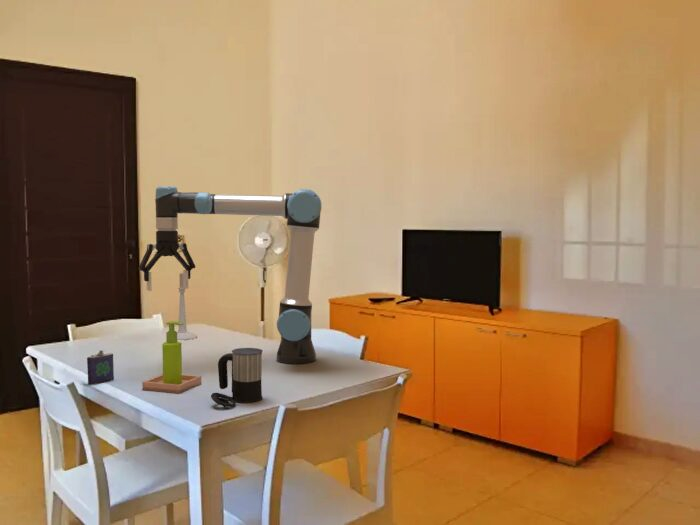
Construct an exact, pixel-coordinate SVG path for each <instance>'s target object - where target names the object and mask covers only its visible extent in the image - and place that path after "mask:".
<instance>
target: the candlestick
mask: <svg viewBox="0 0 700 525" xmlns="http://www.w3.org/2000/svg"><path fill="white" fill-rule="evenodd" d="M178 276H179V287H178V288H177V289H178V292H179V304H178V305H179V307H178V308H179V310H178V311H179V312H178V322H182V323H184V324H183V325H178V331H176V332H177V340H184V341H191V340H190V339H192V340H195V339H194V338H196V339H198V334H195V333H193V332H190V331H188V330H187V319H186V316H187V315H186V303H185V300H186V299H185V292H186V288H183V272H181V273H179V275H178Z"/></svg>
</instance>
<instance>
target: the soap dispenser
mask: <svg viewBox="0 0 700 525" xmlns="http://www.w3.org/2000/svg"><path fill="white" fill-rule="evenodd" d="M183 324H184V323H182V322H179V321H168V322H166V325H167V326H168V331H166V334H165V335H166V336H165V337H166V342H163V343H162V346H161V347H162V374H163V383H166V384H176V385H179V384H181V383H182V375H183V370H182V368H183V366H182V365H183V364H182V363H183V362H182V360H183V358H182V357H183V356H182V355H183V354H182V342H181V341H177V332H178V331H176V330H175V326H179V325H183Z"/></svg>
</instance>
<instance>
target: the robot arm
mask: <svg viewBox="0 0 700 525" xmlns="http://www.w3.org/2000/svg"><path fill="white" fill-rule="evenodd" d="M154 200H155V201H154V202H155V228H156V231H155V242H156V243H155V244H152V243H148V244H147V246H146V250H145V254H144V255H143V257H142V260H141V262H140V263H139V266H138V269H137V270H138V271H141V272H143V281H145V282H146V291H148V292H152V287H153V286H152V272H151V269H152V268H153V267H154V265H155V264H156V263H157V262H158V260H159V259H160V258H162V257H175V259H176V260H177V261H178V262H179V263H180V265H182V267H183V268H184V269H183V270H182V273H183V288H186V289H189V280H191V271H192V270H193V269H195V268H196V265H195V264H196V263H195V262H194V260H193V257H192V256H191V254H190V251H189V250H188V245H187V243H185V242H182V243H179V231H178V228H179V227H178V226H179V223H178V220H179V218H178V214H193V215H195V214H196V215H234V216H236V215H237V216H265V217H266V216H268V217H269V216H270V217H273V216H274V217H283V218H284V219H285V220H286V227H287V228H288V229H289V231H290V235H289V243H288V244H289V246H288V254H287V255H288V257H287V264H286V265H287V267H286V278H285V288H284V297H283V298H281V300H279V307H278V308H279V309H278V317H277V320H276V329H277V331H278V333H279V335H280V343H279V345H278V349H277V352H276V361H277V362H279V363H281V364H289V365H290V364H292V365H293V364H294V365H297V364H309V363H313V362H315V361H316V360H317V353H316V349H315V346H314V344H313V340H312V310H313V303H312V302H311V301H310V299H309V298H310V297H309V295H310V285H311V275H312V274H311V273H312V265H313V264H312V262H313V252H314V241H315V233H316V232H317V231H318V230H319V229H320V224H321V222H320V221H321V212H322V201H321V198H320V196H319V195H318V194H317V193H316V192H315V191H313V190H311V189H307V188H305V189H304V188H303V189H302V188H301V189H298V190H296V191H294V192H293V193H289V192H287V193H284V194H283V195H262V194H261V195H260V194H257V195H256V194H222V193H221V194H220V193H219V194H217V193H213V194H212V193H210V192H202V191H199V192H194V191H193V192H192V191H191V192H180V191H178V188H177V187H176V186H158V187H156V189H155V199H154ZM179 249H180V250H181V251H182V254H183V256H184V258H185V259H184V258H183V257H182V256H181V253H179V251H178V250H179ZM154 250H156V252H155V254H154V255H153V257H152V258H151V259H150V257H151V256H152V253H153V251H154ZM149 260H150V261H149ZM186 289H185V290H186Z"/></svg>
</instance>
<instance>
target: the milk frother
mask: <svg viewBox="0 0 700 525" xmlns="http://www.w3.org/2000/svg"><path fill="white" fill-rule="evenodd" d="M262 354H263V349H261V348H258V347H257V348H256V347H239V348H234V349H232V350H231V352H230V353H226V354H224V355H222V356H221V357H220V358H219V360H218V362H217V368H218V369H217V370H218V371H217V372H218V384H219V388H220V389H221V390H225V389H227V388H228V386H229V380H228V362H229V361H230V362H231V393H232V394H231V395H232V396H229V395H227V394H223V393H221V392H212V393H211V395H210V398H211V400H212V402H214V403H216V404H218V405H219V406H222V407H223V408H224V409H225V408H232V407H235V406H236V405H237V404H236V403H255V402H256V403H257V402H259V401H261V400H262V399H263V393H262V391H263V390H262V388H263V387H262V373H263V372H262V368H263V367H262V362H263V361H262V360H263V359H262V356H263V355H262Z"/></svg>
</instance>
